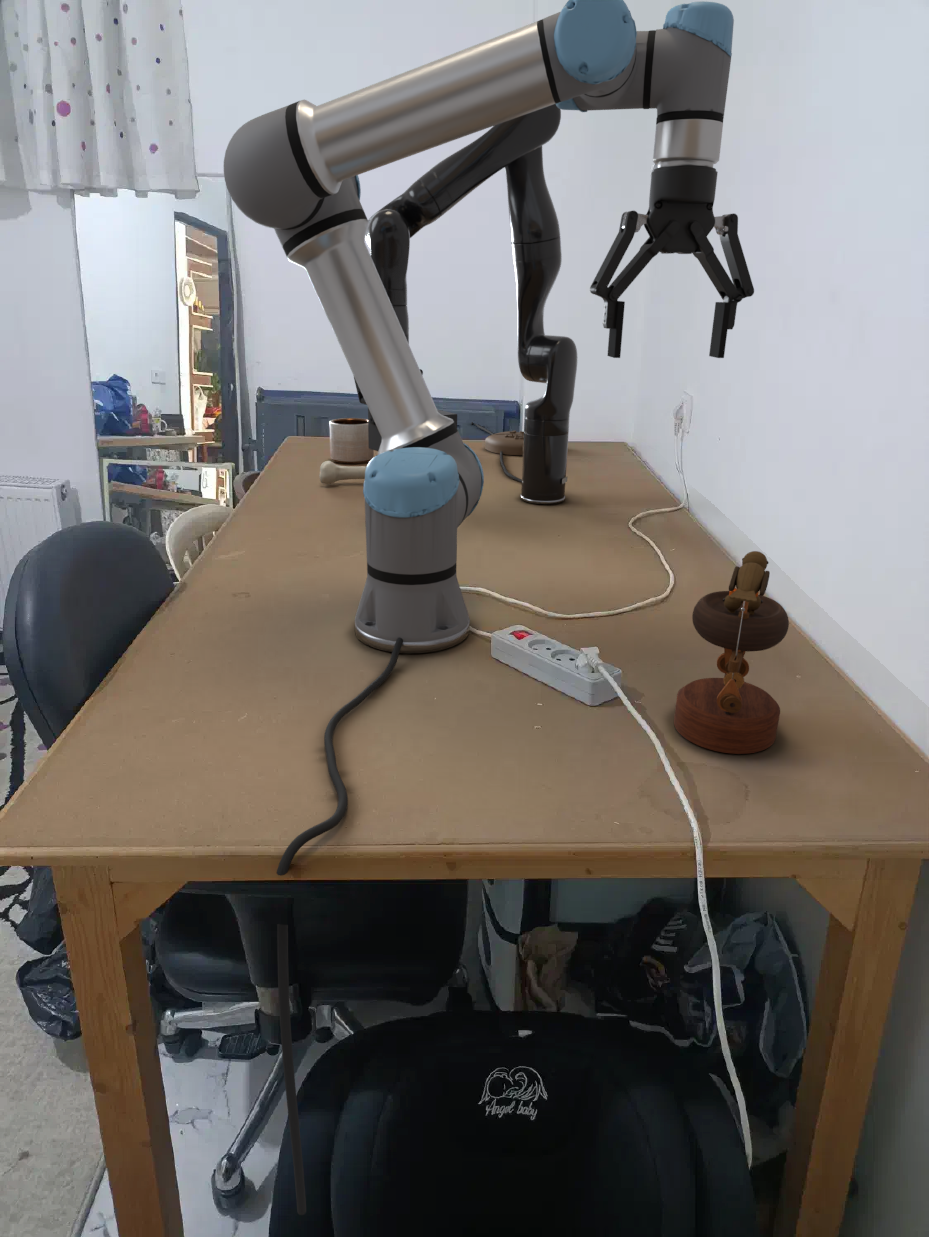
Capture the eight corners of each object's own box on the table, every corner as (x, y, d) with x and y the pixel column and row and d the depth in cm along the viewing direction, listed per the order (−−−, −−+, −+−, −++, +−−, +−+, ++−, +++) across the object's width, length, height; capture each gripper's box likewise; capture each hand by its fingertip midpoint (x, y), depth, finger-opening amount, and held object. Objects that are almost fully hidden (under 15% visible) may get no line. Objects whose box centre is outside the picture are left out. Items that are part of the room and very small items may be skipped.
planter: (327, 456, 217) (325, 418, 214) (369, 454, 220) (368, 417, 217) (334, 465, 208) (332, 425, 204) (377, 463, 211) (376, 424, 207)
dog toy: (407, 478, 195) (407, 457, 193) (410, 485, 190) (410, 462, 188) (319, 480, 192) (318, 458, 190) (319, 487, 186) (318, 464, 185)
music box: (796, 766, 83) (813, 573, 76) (681, 766, 84) (687, 577, 77) (763, 694, 97) (775, 526, 90) (665, 695, 98) (669, 530, 91)
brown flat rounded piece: (490, 464, 211) (490, 447, 209) (483, 443, 237) (483, 428, 235) (573, 465, 212) (575, 448, 210) (557, 444, 238) (558, 429, 236)
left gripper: (769, 174, 104) (744, 354, 112) (572, 166, 100) (561, 354, 108) (801, 167, 97) (772, 360, 105) (591, 159, 93) (578, 359, 101)
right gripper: (410, 330, 160) (411, 420, 167) (343, 331, 153) (346, 426, 159) (432, 332, 155) (431, 426, 161) (363, 334, 147) (365, 432, 153)
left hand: (665, 357), depth 106 cm, fingers open, 13 cm apart
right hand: (389, 425), depth 160 cm, fingers closed on bar, 5 cm apart
